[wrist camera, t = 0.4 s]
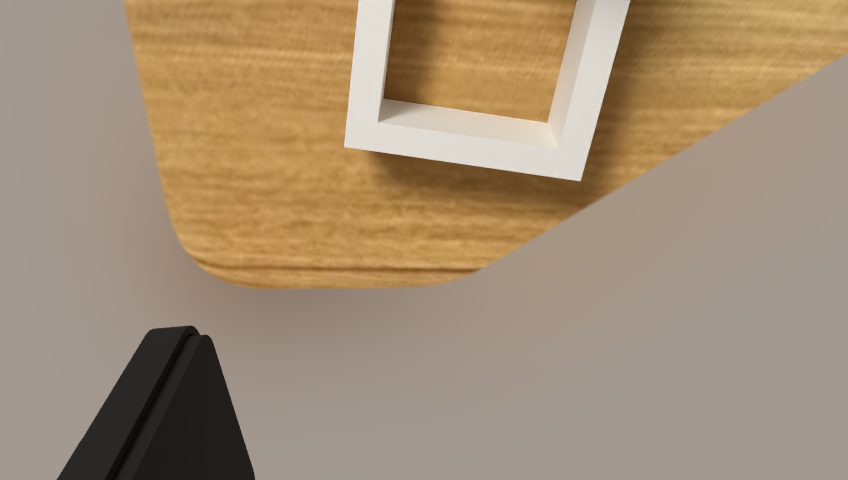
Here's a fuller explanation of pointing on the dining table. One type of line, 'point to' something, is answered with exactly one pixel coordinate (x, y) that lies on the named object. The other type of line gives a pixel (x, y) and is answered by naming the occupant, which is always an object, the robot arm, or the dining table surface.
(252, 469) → the robot arm
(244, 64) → the dining table surface
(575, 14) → the corral
